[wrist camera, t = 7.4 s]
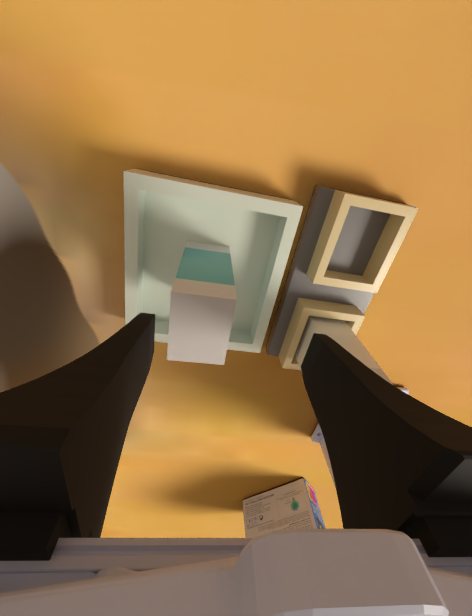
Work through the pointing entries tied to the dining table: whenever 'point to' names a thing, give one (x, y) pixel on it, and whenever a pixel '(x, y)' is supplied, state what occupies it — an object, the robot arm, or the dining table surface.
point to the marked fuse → (202, 305)
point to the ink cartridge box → (282, 510)
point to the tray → (206, 229)
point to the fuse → (341, 335)
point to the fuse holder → (337, 264)
